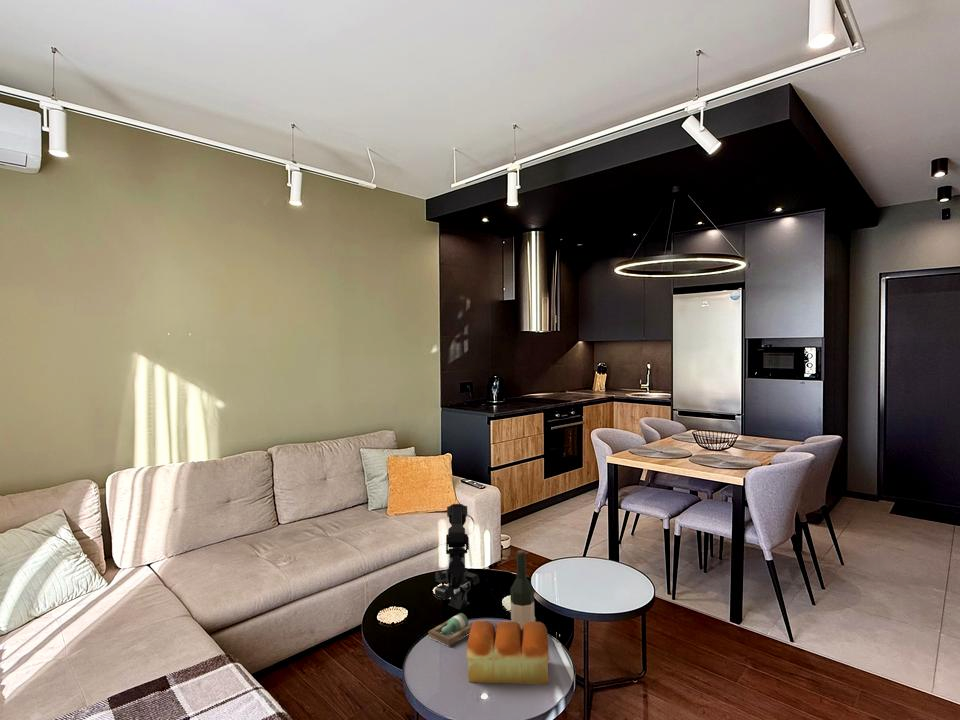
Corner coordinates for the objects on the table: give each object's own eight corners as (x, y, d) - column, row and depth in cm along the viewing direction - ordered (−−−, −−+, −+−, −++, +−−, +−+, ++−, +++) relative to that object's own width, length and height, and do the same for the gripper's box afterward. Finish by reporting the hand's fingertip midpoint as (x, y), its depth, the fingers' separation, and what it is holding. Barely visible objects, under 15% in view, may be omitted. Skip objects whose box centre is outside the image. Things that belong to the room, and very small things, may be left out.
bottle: (457, 611, 195) (438, 621, 188) (468, 615, 192) (449, 625, 184) (457, 626, 195) (438, 637, 187) (468, 630, 192) (450, 641, 184)
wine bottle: (534, 630, 190) (532, 547, 191) (535, 642, 182) (532, 555, 183) (511, 630, 191) (509, 547, 192) (511, 641, 183) (508, 555, 184)
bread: (548, 662, 170) (546, 616, 170) (549, 685, 157) (548, 635, 158) (471, 660, 172) (470, 614, 172) (467, 683, 160) (466, 633, 160)
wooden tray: (455, 622, 198) (455, 616, 198) (476, 630, 191) (476, 623, 191) (428, 638, 187) (428, 631, 187) (449, 647, 180) (449, 639, 180)
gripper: (457, 554, 204) (458, 594, 204) (423, 568, 190) (424, 612, 190) (479, 560, 197) (480, 601, 197) (445, 575, 183) (446, 620, 183)
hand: (458, 608), depth 192 cm, fingers closed
